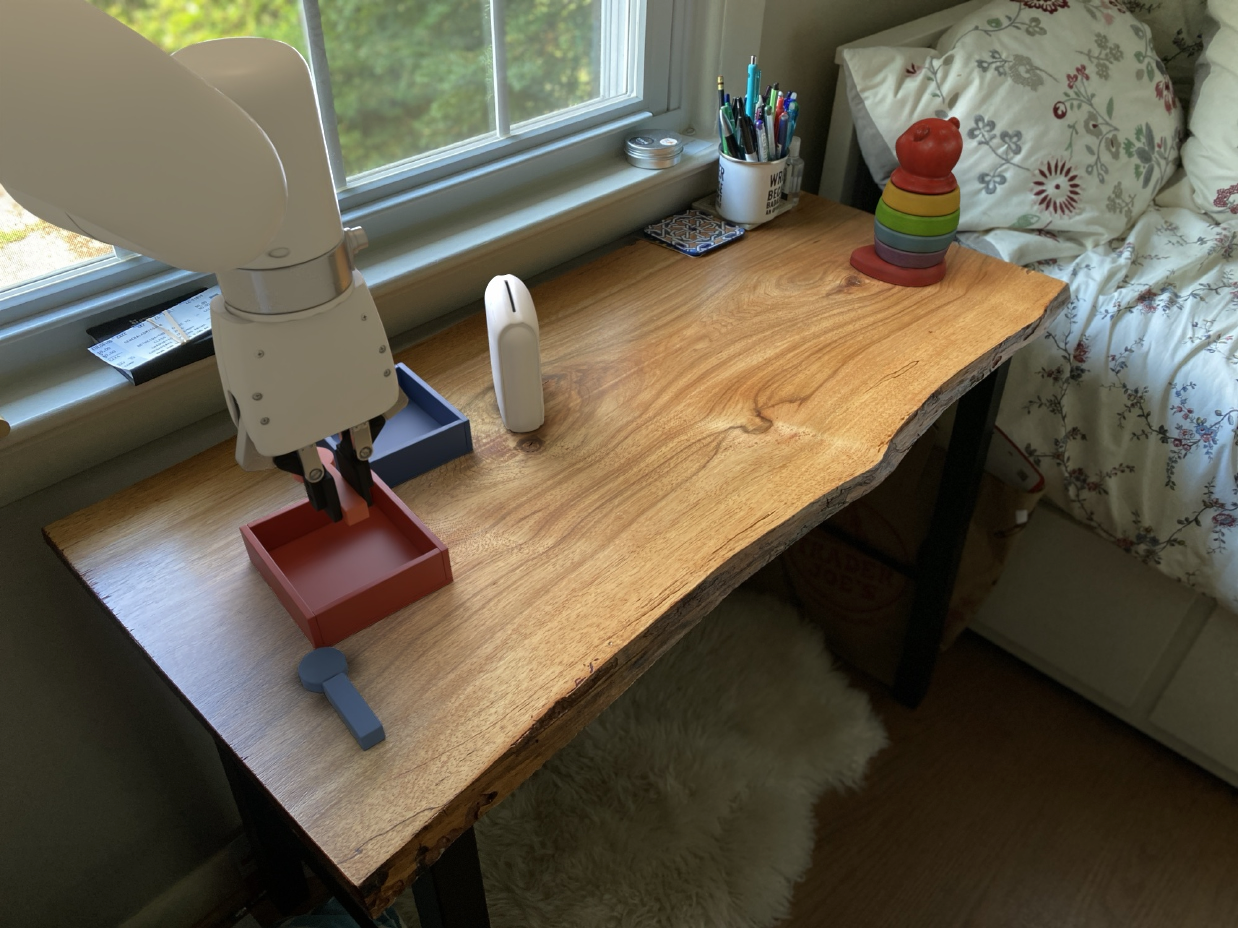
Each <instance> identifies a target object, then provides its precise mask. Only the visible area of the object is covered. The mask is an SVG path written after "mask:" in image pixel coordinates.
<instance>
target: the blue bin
mask: <svg viewBox="0 0 1238 928" xmlns="http://www.w3.org/2000/svg"><path fill="white" fill-rule="evenodd" d="M394 365H395V370H396V374H397V380H398V385H399V386H400V388H401V389H402V391H403V392H404V393H405V395H406V396H407V398H408V404H407V405H406V407H404V408H403V409H402V410H401V411H400V412H398V413H397V414H396V415H395V416H393V417H392V418H391V419H390V420H386V422H385V425H384V427H383V429H382V430H381V432H380V434H379V435H378V437H377V438H376V440H375V442H374V443H373V455H372V456H371V457H370V458H369V459H368V460H369V464H370V469H371V470H372V471H373V472H374V473H375V474H376V475H377V476H378V477H379V478H380V479H381V480H382V481H383V482H384V483H385V484H386V485H387V486H388V487H389V488H390V489H392V488H394V487H397V486H399V485H401V484H403V483H405V482H408V481H409V480H412V479H414V478H417V477H419V476H421V475H423V474H425V473H427V472H429V471H432V470H434V469H436V468H438V467H440V466H443V465H445V464H447V463H449V462H451V461H453V460H456V459H458V458H461V457H462V456H465V455H467V454H469V453H471V452H474V447H473V445H474V444H473V437H472V430H471V421H470V418H468V417H467V416H466V415H465V414H463V413H462V412H461V411H460V410H459V409H458V408H456V407H455V406H454V405H453V404H452V403H450V401H448V400H447V399H446V398H445V397H443V395H441V394H440V393H439V392H437V391H436V390H435V389H434V388H433V387H432V386H430V384H428V383H427V382H426V381H425V380H423V379H422V378H421V377H420V376H419V375H417V374H416V373H415V372H414V371H413V370H412V369H410V368H409V367H408V366H406V364H404V363H403V362H399V363H397V364H394ZM340 442H341V440H340V438H339V433H336V434H334V435H332V436H329V437H327V438H324V439H322V440H319V441H317V442H315V444H316V447H322V448H326V449H328V450H330V451H331V452H332V454H333V456H334V460H335V465H336V470H337V471H338V472H339V473H340V469H339V465H338V461H337V457H336V454H335V449H337V448H336V444H339V443H340ZM340 474H341V473H340Z"/></svg>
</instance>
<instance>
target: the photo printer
mask: <svg viewBox="0 0 1238 928" xmlns="http://www.w3.org/2000/svg"><path fill="white" fill-rule="evenodd" d="M484 307H485V314H486V325H487V336H488V343H489V344H488V346H489V356H490V364H491V373H492V380H493V386H494V387H493V388H494V391H495V397H496V402H497V405H498V410H499V413H500V416H501V420H502V423H503V425H504V427H505V428H506V430H511V432H514V433H528V432H532V431H535V430H537V429H539V428H540V426H542V425H544V422H545V402H544V401H545V399H544V390H543V374H542V373H543V372H542V357H541V340H540V325H539V320H538V315H537V311H536V306H535V304H534V301H533V298H532V295H531V293H530V291H529V289H528V288H527V286H526V285H525V284H524V282H523V281H522V280H521V279H520V278H518V277H516V276H515V275H513V274H510V273H509V274H506V275H496V276H494V277H493V278H492V279H490V281H489V283H488V284H487V287H486V289H485V292H484Z"/></svg>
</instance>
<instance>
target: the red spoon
mask: <svg viewBox="0 0 1238 928" xmlns="http://www.w3.org/2000/svg"><path fill="white" fill-rule="evenodd" d="M317 450H318V453H319V456H320V460H321V462H322V463H323V464H324V466H325V468H326V469H327V470H328V471H329V472H330V473H331V475H332V476H333V477H334V480H335V483H336V487H337V491H338V495H339V499H340V503H341V506H340V507H341V511H342V515H343V519H344V521H345V522H346V523H347V524H348V525H349V526H351V525H353V524H355V523H357V522H360V521H362V520H364V519H366V518H368V517H369V511H368V507H367V502H366V501H365V500H364V499H363V498H362V497H361V496H359V495H358V493H357V492H356V491H355V490H354V489H353V488H352V487H351V486H350V485H349V484H348V483H347V482H346V480H345V479H344V478H343V477H342V476H341V474H340V473H339V472H338V471H337V470H336V465H335V460H334V456H333V454H332V452H331V451H330V450H328V449H326V448H322V447H317ZM290 474H291V478H292V479H293V480H294V481H296V482H298V483H300V484H304V482H303V478H302V476H299V475H296V474H293V473H290Z"/></svg>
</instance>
